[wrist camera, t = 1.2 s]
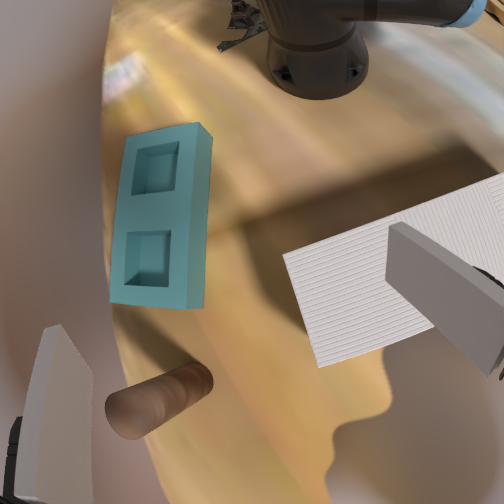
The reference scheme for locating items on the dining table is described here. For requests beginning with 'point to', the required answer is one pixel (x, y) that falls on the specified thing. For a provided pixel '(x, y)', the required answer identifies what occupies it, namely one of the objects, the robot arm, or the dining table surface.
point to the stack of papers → (374, 268)
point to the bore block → (162, 219)
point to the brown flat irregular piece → (496, 9)
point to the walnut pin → (157, 400)
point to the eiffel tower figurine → (243, 22)
